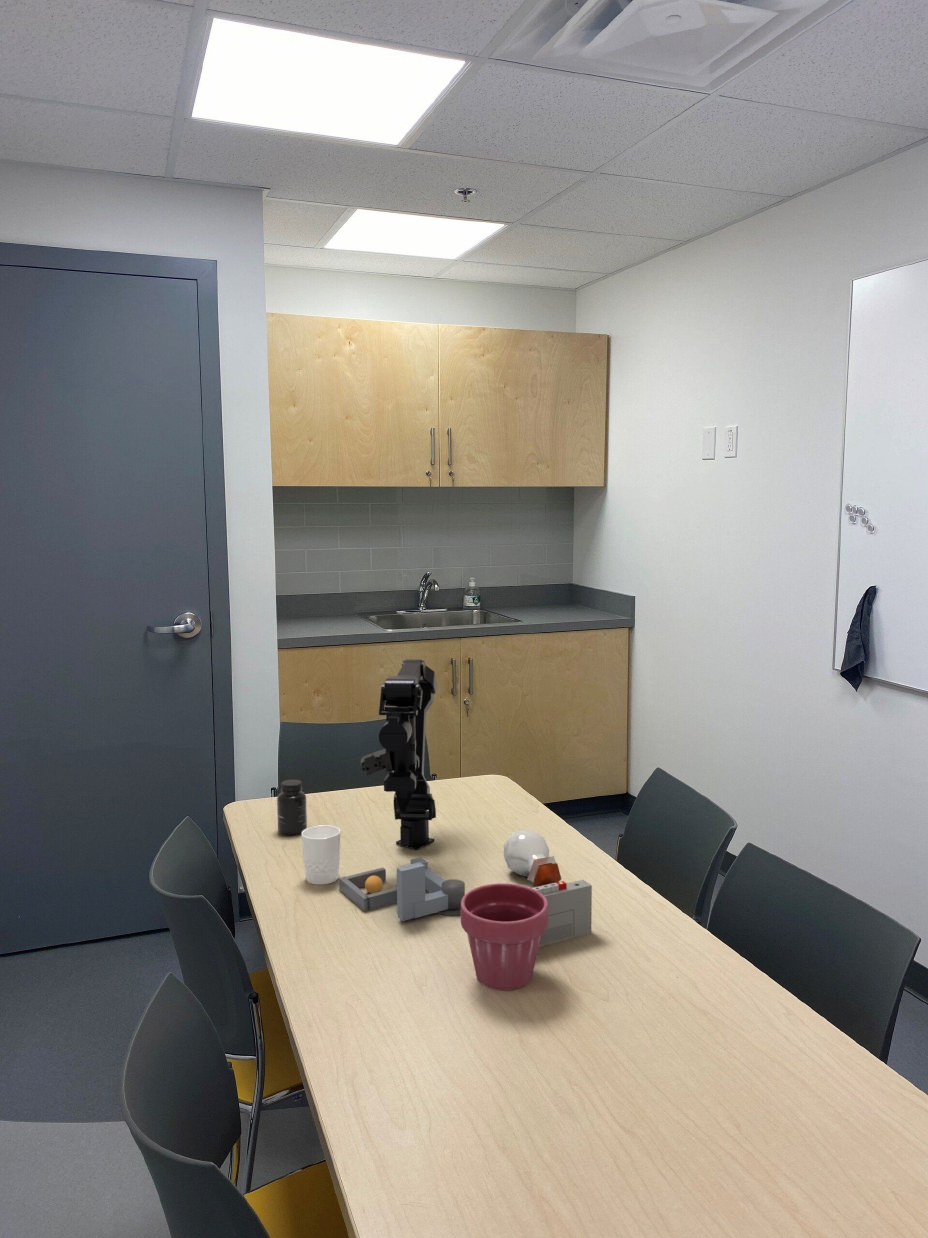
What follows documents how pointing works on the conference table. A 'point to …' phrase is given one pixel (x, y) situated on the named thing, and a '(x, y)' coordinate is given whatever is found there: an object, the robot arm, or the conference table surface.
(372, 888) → the ball
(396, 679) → the robot arm
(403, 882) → the lever
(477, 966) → the plant pot
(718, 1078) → the conference table surface
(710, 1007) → the conference table surface
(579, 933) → the cassette player
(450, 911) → the pivot plate
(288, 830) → the supplement bottle
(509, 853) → the potion bottle
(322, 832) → the white cup
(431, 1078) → the conference table surface
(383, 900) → the pocket
